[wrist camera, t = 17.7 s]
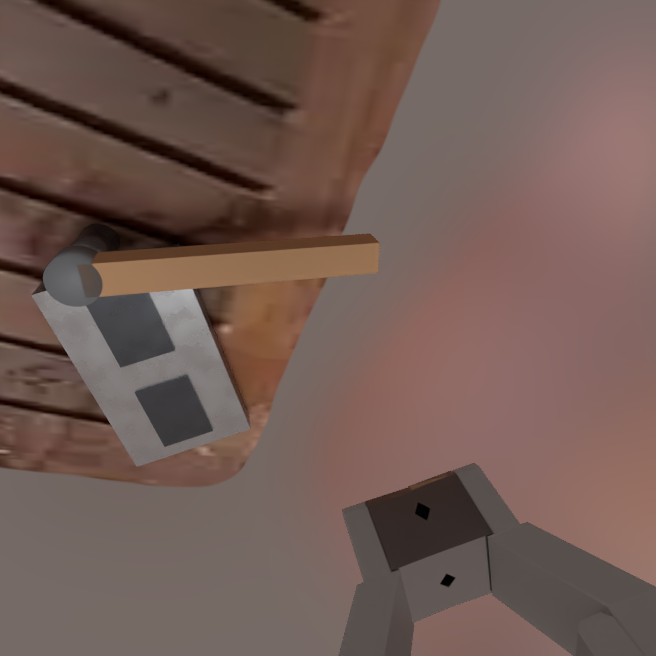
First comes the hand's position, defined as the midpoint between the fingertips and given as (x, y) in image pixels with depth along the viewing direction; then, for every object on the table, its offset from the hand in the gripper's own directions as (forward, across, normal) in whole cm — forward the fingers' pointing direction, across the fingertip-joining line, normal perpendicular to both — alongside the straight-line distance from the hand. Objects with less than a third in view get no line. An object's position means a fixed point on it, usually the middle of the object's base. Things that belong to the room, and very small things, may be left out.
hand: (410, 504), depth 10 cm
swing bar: (+28, +4, +3) cm, 29 cm away
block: (+35, +14, +11) cm, 39 cm away
